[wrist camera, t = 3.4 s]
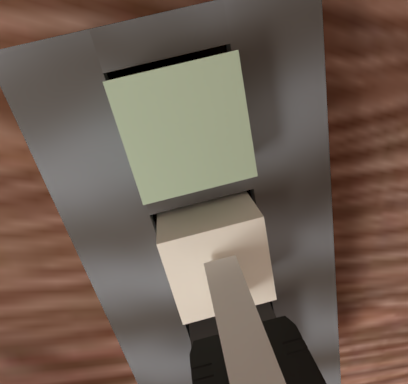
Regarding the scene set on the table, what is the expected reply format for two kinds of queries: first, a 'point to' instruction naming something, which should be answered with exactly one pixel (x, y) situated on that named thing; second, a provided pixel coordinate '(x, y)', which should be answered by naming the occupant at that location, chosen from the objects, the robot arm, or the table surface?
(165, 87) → the key sage
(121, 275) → the console
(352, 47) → the table surface
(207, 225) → the key ivory
